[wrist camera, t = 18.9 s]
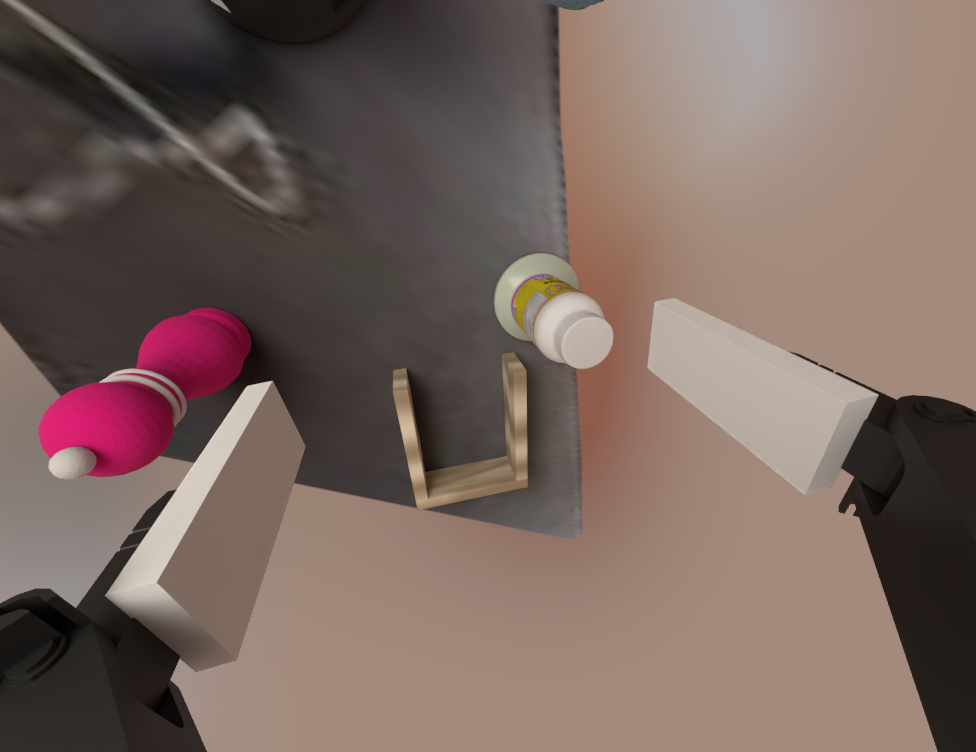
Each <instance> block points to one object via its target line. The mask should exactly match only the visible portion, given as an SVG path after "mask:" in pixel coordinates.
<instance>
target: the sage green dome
mask: <svg viewBox="0 0 976 752" xmlns="http://www.w3.org/2000/svg"><path fill="white" fill-rule="evenodd" d="M540 273H544V274H550V275H552V276H555V277H557V278H558V279H560V280H562V281H564V282H565V283H567V284H569V285H570V286H572V287H574V288H576V289H577V290H579V291H580V288H579V281H578V278H577V276H576V273H575V272H574V270H573V269H572V267H571V266H570V265H569V264H568V263H567V262H566V261H564V260H563V259H561V258H559V257H557V256H555V255H552V254H549V253H543V252H537V253H530V254H527V255H524V256H522V257H520V258H518V259H516V260H515V261H513V262H512V263H511V264H510V265H509V266H508V267H507V268H506V269H505V270H504V271H503V273H502V274H501V275H500V277H499V279H498V281H497V284H496V286H495V290H494V295H493V305H494V311H495V314H496V317H497V319H498V321H499V322H500V324H501V325H502V327H503V328H504V329H505V330H506V331H507V332H508V333H509V334H511V335H512V336H513V337H515V338H518V339H520V340H524V341H531V339H530V338H529V337H528V336H527V335H526V334H525V333H524V332H523V330H522V329H521V328H520V327H519V326H518V325H517V323H516V322H515V321H514V319H513V317H512V314H511V309H510V303H511V298H512V295H513V292H514V290H515V288H516V287H517V286H518V284H519V283H520V282H521V281H523V280H524V279H525V278H527V277H529V276H531V275H534V274H540Z"/></svg>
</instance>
